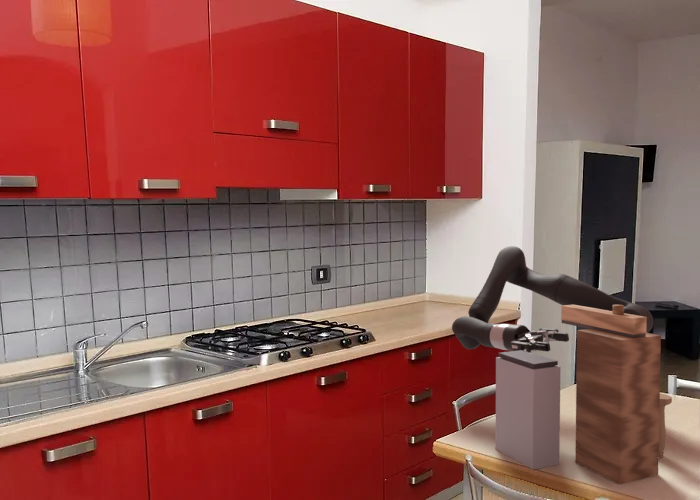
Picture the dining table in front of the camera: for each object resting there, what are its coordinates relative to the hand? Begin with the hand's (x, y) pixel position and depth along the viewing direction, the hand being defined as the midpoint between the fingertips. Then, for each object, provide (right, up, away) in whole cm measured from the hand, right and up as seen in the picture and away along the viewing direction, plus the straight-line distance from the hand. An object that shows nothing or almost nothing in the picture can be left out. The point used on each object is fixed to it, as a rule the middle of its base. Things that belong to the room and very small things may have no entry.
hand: (558, 342), depth 159 cm
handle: (+20, -26, -12) cm, 35 cm away
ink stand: (-12, -26, -11) cm, 31 cm away
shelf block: (+7, -27, -19) cm, 33 cm away
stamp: (+4, +6, -16) cm, 18 cm away
